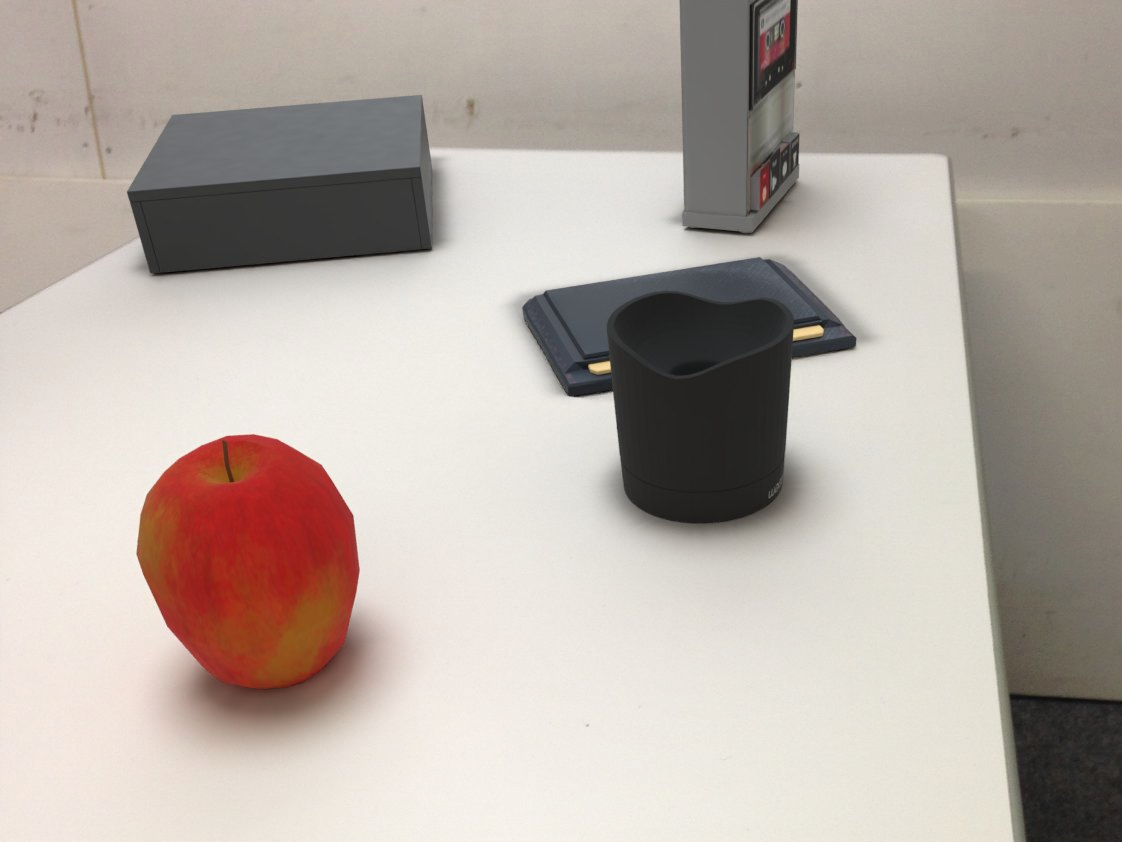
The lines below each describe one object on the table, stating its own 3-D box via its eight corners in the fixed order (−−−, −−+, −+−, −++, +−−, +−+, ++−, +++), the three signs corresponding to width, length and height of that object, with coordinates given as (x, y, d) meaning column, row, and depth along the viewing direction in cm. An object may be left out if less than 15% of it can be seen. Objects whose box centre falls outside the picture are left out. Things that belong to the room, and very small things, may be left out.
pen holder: (678, 559, 65) (673, 380, 59) (586, 484, 72) (572, 315, 66) (824, 502, 69) (832, 328, 63) (723, 435, 76) (722, 271, 69)
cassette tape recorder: (755, 236, 101) (759, -130, 86) (682, 229, 103) (674, -130, 88) (801, 180, 111) (812, -156, 96) (734, 175, 113) (735, -155, 98)
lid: (150, 273, 100) (126, 191, 96) (190, 187, 117) (171, 114, 113) (432, 248, 102) (420, 166, 98) (432, 167, 118) (421, 94, 115)
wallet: (782, 244, 94) (862, 324, 82) (782, 269, 95) (860, 351, 84) (515, 282, 91) (558, 371, 79) (518, 307, 92) (561, 399, 80)
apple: (205, 618, 63) (136, 396, 56) (389, 603, 63) (343, 381, 56) (163, 744, 56) (77, 507, 48) (371, 726, 56) (316, 489, 49)
